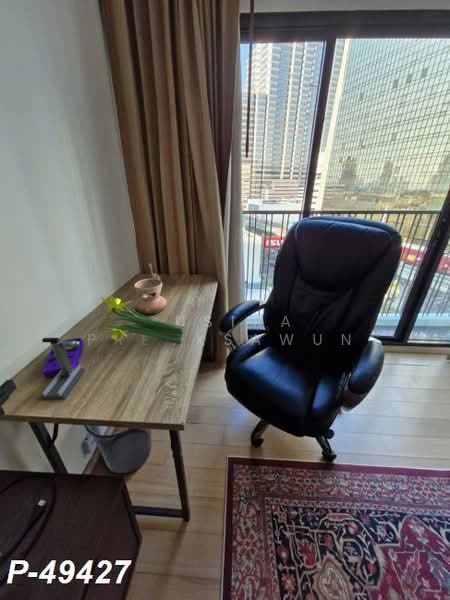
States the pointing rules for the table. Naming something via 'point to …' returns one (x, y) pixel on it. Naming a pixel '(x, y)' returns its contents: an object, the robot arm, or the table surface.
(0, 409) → the robot arm
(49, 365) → the handheld gaming console
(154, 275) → the ostrich figurine
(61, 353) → the tap
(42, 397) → the base
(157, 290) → the ceramic jug
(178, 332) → the daffodil flowers
